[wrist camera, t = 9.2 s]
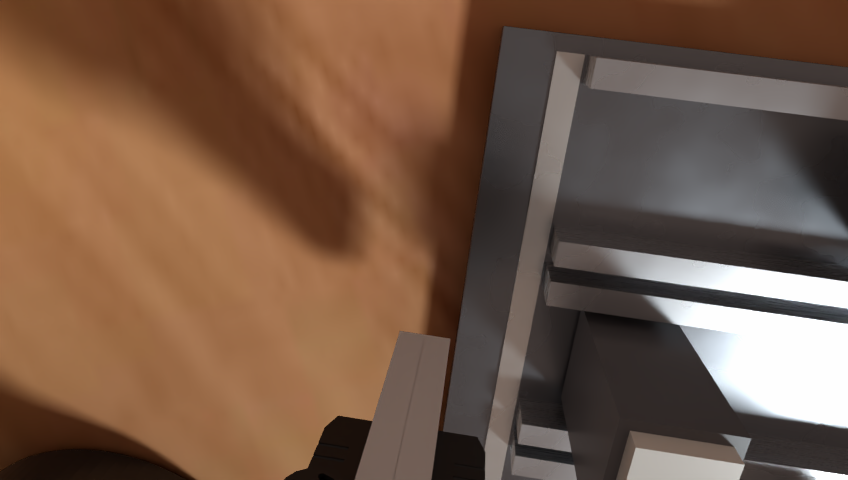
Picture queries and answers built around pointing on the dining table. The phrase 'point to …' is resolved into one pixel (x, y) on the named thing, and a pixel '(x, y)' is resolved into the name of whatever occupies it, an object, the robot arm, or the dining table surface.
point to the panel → (659, 242)
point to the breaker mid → (646, 405)
